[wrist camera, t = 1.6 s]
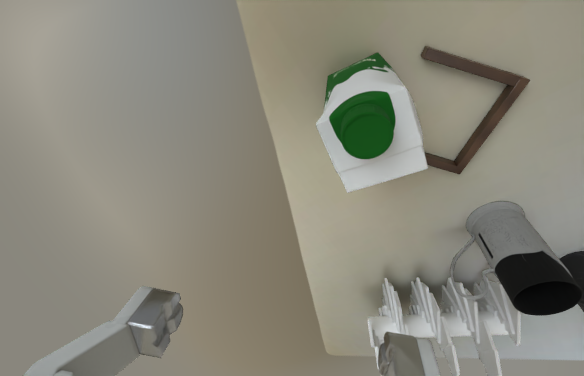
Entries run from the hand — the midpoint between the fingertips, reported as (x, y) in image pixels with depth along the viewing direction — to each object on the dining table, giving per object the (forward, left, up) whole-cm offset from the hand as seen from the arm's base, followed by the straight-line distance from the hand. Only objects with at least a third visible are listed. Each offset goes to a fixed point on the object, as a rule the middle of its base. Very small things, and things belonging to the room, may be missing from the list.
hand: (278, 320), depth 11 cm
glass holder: (+15, +33, -35) cm, 51 cm away
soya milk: (-1, +5, -35) cm, 35 cm away
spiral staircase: (+34, +34, -35) cm, 60 cm away
